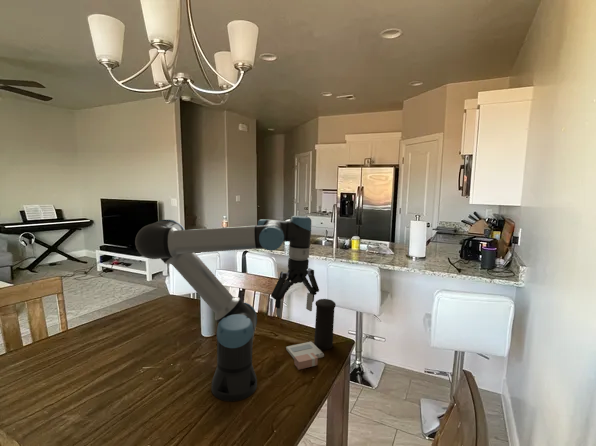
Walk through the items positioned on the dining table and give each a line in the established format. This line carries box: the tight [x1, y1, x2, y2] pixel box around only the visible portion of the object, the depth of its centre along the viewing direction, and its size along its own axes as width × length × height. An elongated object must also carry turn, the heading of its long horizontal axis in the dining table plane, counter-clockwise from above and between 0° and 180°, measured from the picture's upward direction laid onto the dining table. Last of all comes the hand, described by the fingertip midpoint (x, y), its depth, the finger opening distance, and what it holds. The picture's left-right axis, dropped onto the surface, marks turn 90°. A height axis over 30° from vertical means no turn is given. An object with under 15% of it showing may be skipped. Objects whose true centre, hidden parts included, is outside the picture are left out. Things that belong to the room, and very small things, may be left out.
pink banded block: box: [293, 353, 319, 370], centre depth 124 cm, size 8×4×3 cm, turn 115°
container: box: [313, 298, 336, 351], centre depth 138 cm, size 9×9×20 cm
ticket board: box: [285, 341, 325, 359], centre depth 132 cm, size 12×11×1 cm
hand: (294, 313), depth 121 cm, fingers open, 13 cm apart
